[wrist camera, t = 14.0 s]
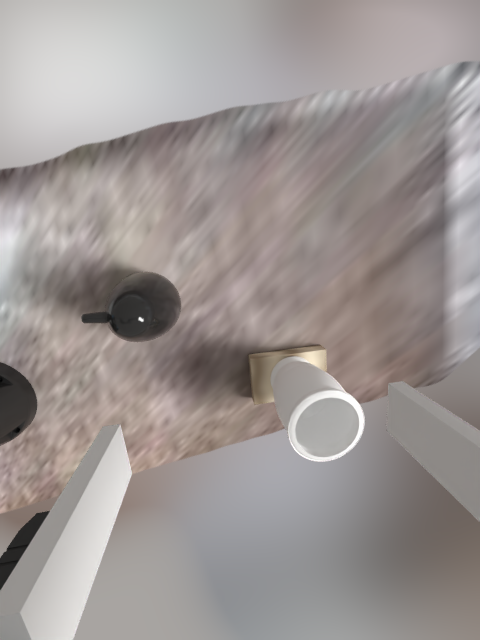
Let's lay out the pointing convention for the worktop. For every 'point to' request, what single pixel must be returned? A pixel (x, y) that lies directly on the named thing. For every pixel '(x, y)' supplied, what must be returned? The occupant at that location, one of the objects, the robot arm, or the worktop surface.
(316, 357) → the birch trivet
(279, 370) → the white cup
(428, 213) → the worktop surface
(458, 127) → the worktop surface
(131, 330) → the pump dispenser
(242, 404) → the worktop surface
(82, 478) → the robot arm
